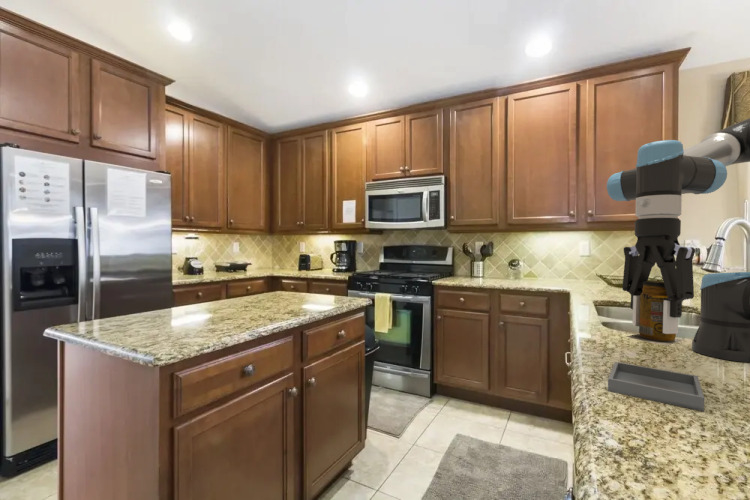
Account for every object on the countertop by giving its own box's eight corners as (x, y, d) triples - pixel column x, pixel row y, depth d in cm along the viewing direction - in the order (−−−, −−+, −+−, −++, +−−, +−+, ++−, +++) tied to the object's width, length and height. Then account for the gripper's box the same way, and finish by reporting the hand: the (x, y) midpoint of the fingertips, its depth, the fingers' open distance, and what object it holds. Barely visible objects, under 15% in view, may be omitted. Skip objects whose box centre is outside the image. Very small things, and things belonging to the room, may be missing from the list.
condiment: (683, 341, 75) (685, 282, 74) (667, 346, 70) (669, 284, 70) (642, 333, 81) (644, 279, 81) (625, 338, 76) (626, 280, 76)
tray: (614, 372, 86) (615, 361, 86) (697, 387, 77) (697, 375, 77) (607, 390, 74) (608, 378, 74) (703, 411, 65) (704, 397, 65)
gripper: (604, 220, 84) (601, 320, 84) (690, 213, 65) (686, 341, 65) (632, 221, 85) (629, 319, 85) (723, 214, 67) (720, 340, 67)
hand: (654, 329), depth 75 cm, fingers closed on condiment, 6 cm apart
